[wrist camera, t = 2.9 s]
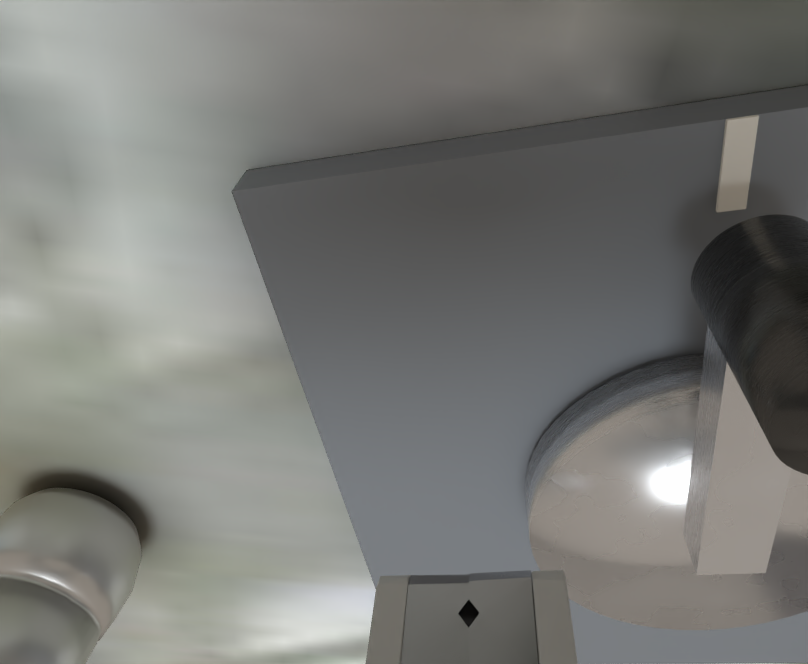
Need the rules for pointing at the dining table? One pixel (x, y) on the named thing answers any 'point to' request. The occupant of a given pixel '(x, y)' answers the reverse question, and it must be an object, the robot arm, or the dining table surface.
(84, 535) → the plastic bottle
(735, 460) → the dial
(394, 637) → the robot arm
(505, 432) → the dial plate
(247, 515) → the dining table surface
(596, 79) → the dining table surface
